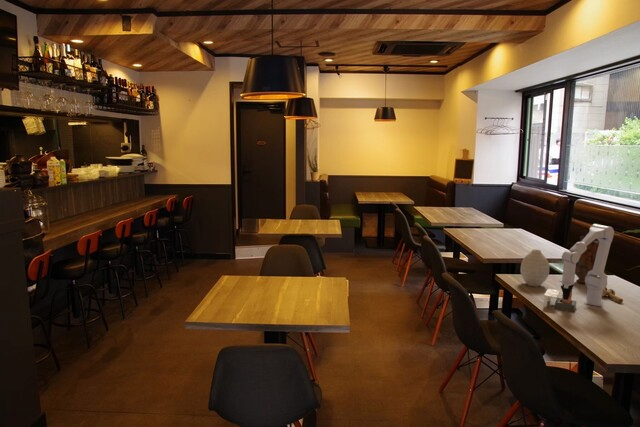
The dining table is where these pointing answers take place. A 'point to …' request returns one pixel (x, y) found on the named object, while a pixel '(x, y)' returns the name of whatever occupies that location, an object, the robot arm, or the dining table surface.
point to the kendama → (611, 295)
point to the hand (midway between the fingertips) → (566, 298)
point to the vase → (535, 268)
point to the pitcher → (586, 261)
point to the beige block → (550, 296)
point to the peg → (568, 299)
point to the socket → (565, 305)
